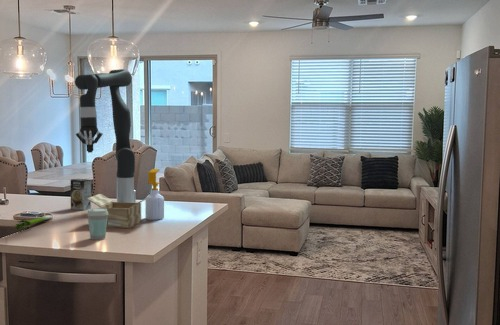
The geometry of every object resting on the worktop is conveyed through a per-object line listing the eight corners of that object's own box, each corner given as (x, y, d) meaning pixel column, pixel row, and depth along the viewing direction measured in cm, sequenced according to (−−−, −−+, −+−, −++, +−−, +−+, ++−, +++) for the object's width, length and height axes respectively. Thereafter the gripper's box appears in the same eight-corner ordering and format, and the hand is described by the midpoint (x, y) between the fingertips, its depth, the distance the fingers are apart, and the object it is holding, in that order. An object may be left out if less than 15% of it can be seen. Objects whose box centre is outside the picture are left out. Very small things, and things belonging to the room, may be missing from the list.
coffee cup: (89, 236, 212) (89, 207, 211) (110, 236, 213) (110, 207, 212) (84, 241, 203) (84, 211, 202) (106, 240, 204) (106, 211, 203)
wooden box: (113, 220, 246) (112, 201, 245) (141, 221, 244) (140, 202, 243) (99, 227, 229) (99, 207, 228) (129, 228, 227) (129, 208, 227)
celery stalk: (55, 223, 245) (27, 232, 215) (41, 225, 245) (11, 234, 215) (54, 211, 245) (25, 218, 215) (40, 212, 245) (9, 220, 215)
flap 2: (140, 201, 242) (152, 195, 242) (140, 202, 242) (152, 195, 242) (129, 207, 227) (142, 200, 227) (129, 208, 227) (142, 200, 227)
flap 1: (112, 201, 244) (100, 194, 244) (112, 200, 244) (100, 193, 244) (99, 206, 229) (86, 199, 229) (100, 206, 229) (87, 198, 229)
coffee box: (70, 209, 272) (69, 179, 271) (78, 207, 278) (78, 178, 277) (83, 210, 269) (83, 180, 268) (91, 208, 275) (91, 179, 274)
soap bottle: (167, 217, 254) (167, 168, 252) (158, 220, 246) (158, 170, 244) (151, 215, 257) (151, 168, 255) (142, 219, 249) (142, 169, 247)
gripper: (71, 116, 240) (73, 153, 242) (99, 116, 239) (101, 152, 241) (77, 116, 247) (79, 152, 249) (104, 116, 247) (106, 151, 248)
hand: (90, 152), depth 245 cm, fingers closed
